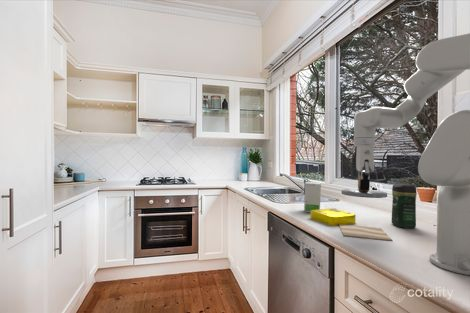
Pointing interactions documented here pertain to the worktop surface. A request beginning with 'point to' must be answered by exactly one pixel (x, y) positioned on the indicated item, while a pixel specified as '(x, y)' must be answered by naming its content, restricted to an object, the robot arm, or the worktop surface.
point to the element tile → (333, 216)
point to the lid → (364, 192)
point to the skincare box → (312, 196)
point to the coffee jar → (404, 205)
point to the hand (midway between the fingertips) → (363, 188)
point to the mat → (364, 232)
